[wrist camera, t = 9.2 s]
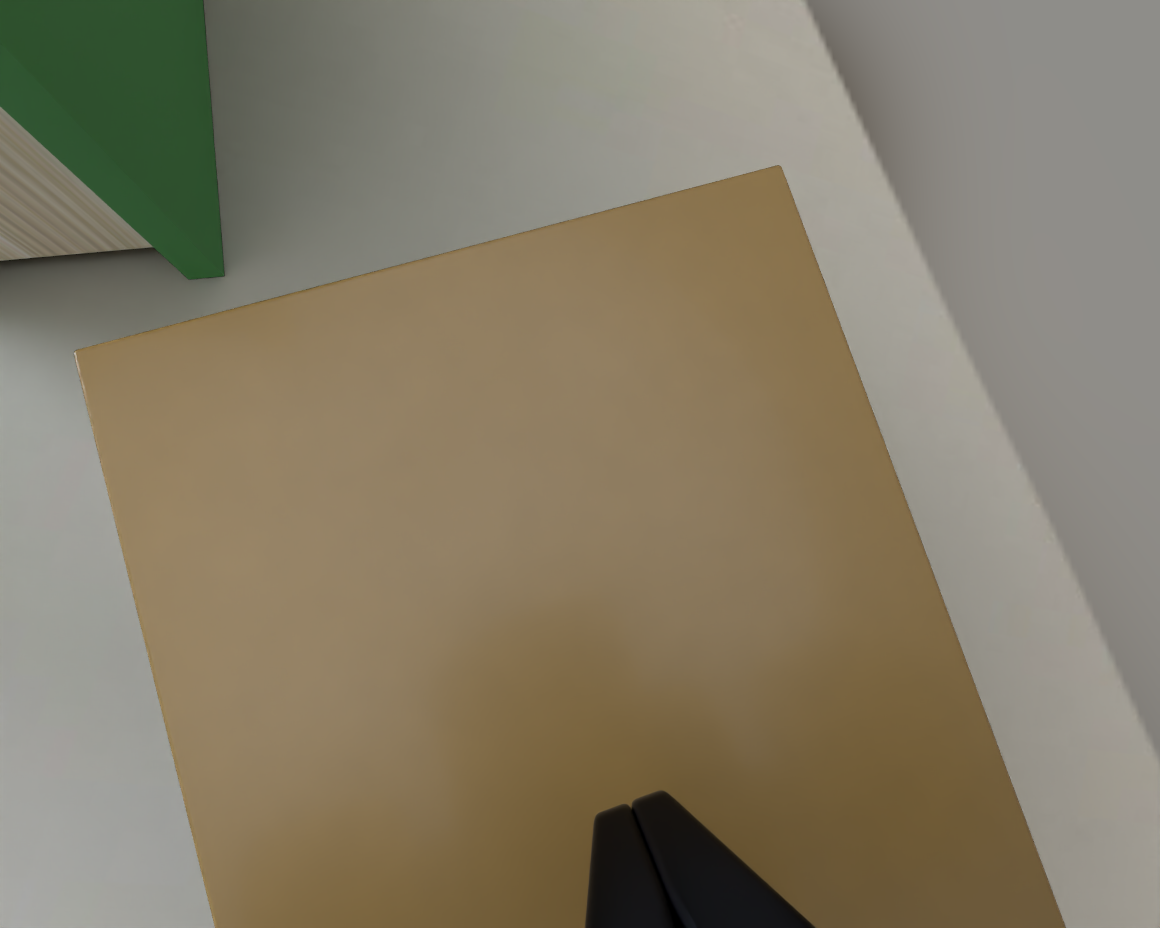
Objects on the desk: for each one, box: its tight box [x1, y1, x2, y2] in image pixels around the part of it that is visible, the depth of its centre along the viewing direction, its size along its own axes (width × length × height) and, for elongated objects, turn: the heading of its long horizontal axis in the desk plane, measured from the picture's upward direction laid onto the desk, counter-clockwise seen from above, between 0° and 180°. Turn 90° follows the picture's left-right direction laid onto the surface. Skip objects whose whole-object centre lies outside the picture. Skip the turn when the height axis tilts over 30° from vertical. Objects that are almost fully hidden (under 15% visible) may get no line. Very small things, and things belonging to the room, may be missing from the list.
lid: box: [74, 165, 1066, 928], centre depth 12 cm, size 14×12×1 cm
